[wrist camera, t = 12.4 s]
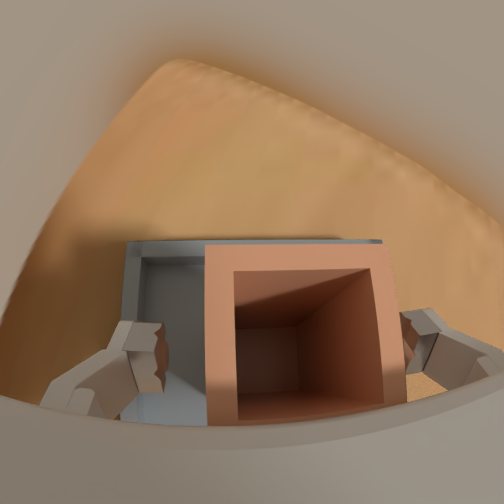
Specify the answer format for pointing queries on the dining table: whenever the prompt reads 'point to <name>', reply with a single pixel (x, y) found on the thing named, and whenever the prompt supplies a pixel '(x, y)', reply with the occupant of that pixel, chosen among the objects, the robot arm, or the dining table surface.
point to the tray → (177, 321)
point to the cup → (300, 332)
